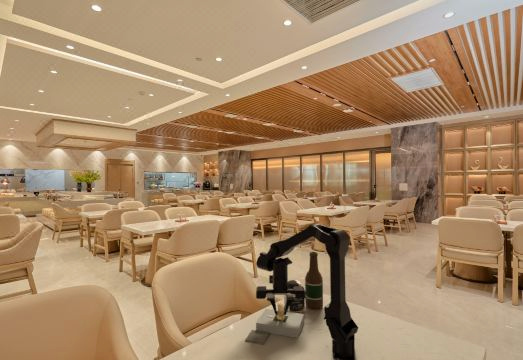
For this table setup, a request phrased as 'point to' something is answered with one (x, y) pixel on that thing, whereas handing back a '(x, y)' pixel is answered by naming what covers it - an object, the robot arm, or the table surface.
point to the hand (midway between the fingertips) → (280, 314)
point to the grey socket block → (280, 323)
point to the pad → (257, 337)
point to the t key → (280, 313)
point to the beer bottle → (313, 285)
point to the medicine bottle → (297, 304)
